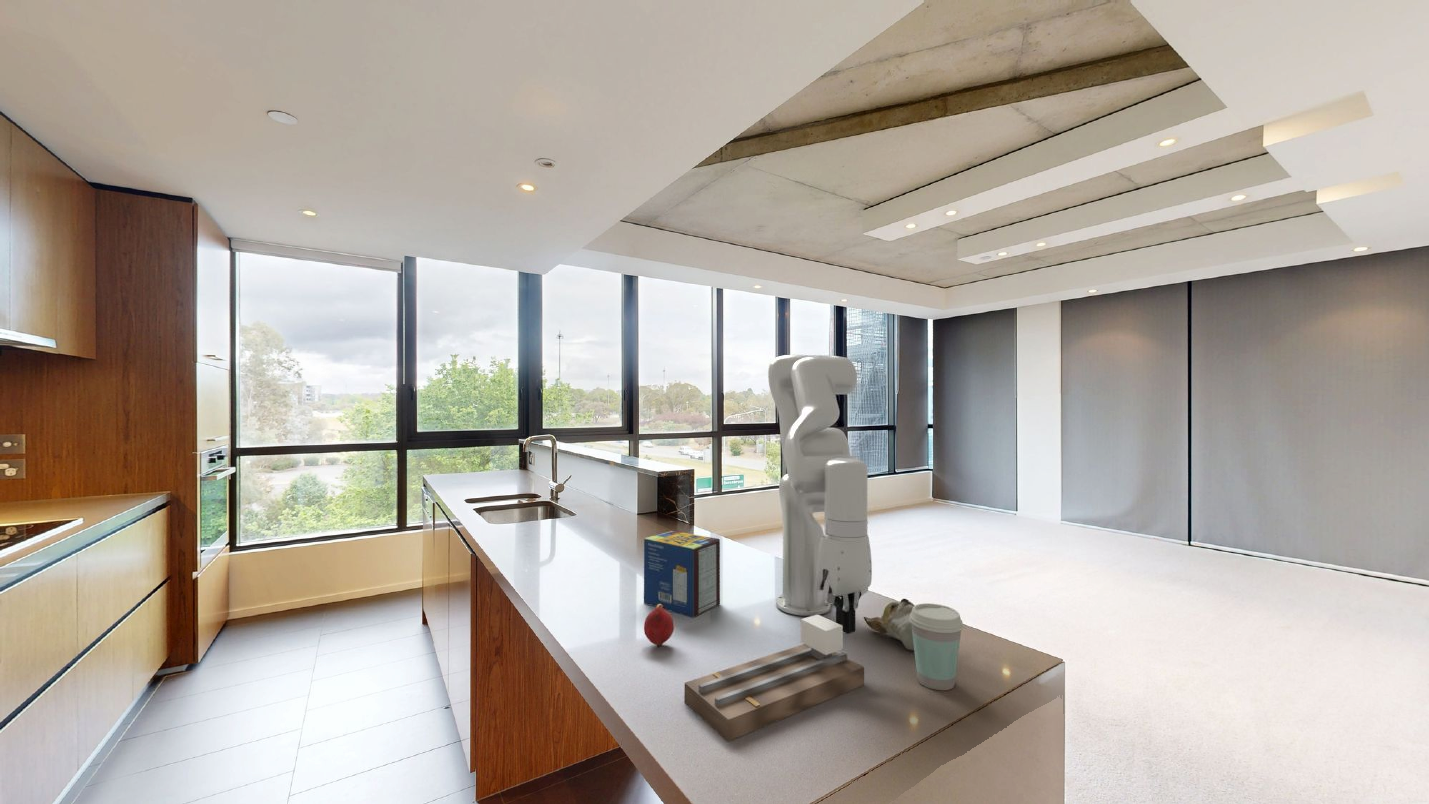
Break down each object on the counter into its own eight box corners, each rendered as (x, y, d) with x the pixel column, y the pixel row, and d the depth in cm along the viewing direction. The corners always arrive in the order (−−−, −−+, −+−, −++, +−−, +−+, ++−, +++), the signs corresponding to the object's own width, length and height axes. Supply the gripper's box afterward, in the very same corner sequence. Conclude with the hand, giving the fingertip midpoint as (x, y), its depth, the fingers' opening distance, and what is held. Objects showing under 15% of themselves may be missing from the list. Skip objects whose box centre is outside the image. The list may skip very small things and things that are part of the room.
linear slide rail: (813, 656, 101) (813, 635, 101) (864, 684, 91) (864, 660, 91) (684, 701, 85) (684, 676, 85) (728, 741, 75) (728, 712, 75)
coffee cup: (960, 674, 94) (960, 605, 95) (965, 699, 86) (966, 624, 86) (908, 666, 97) (908, 599, 97) (909, 689, 89) (909, 616, 89)
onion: (668, 653, 102) (669, 611, 102) (639, 650, 103) (639, 608, 103) (677, 640, 107) (677, 600, 107) (649, 638, 109) (649, 598, 109)
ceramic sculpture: (901, 611, 100) (860, 590, 115) (902, 659, 100) (860, 631, 114) (950, 607, 103) (904, 586, 117) (951, 654, 102) (905, 627, 117)
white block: (817, 647, 97) (817, 614, 97) (842, 660, 92) (842, 625, 92) (800, 653, 95) (801, 619, 95) (825, 667, 90) (825, 631, 90)
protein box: (670, 591, 136) (671, 529, 136) (720, 604, 127) (721, 538, 127) (642, 603, 128) (642, 537, 128) (693, 618, 119) (693, 548, 119)
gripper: (857, 519, 104) (857, 614, 104) (800, 529, 96) (800, 632, 96) (889, 526, 98) (889, 628, 98) (831, 537, 90) (831, 648, 89)
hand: (845, 630), depth 97 cm, fingers closed
